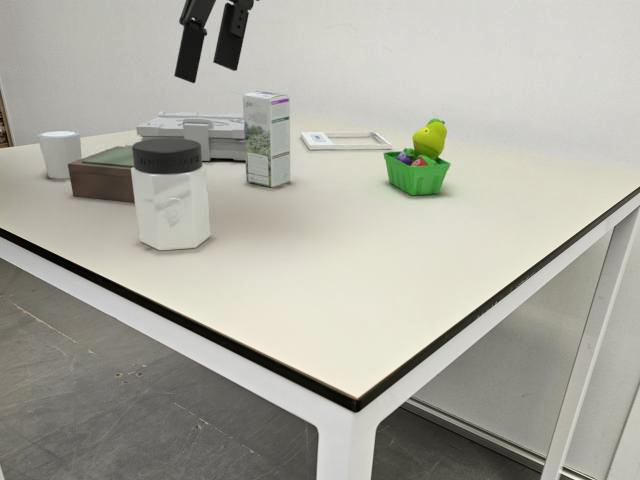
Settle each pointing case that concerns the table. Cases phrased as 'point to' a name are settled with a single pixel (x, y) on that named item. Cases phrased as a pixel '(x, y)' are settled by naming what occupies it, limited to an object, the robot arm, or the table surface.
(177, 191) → the jar
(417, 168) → the fruit basket
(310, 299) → the table surface
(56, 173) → the white cup
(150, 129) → the grey plastic tool case
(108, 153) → the shelf
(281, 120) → the syrup box
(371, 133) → the photo frame
